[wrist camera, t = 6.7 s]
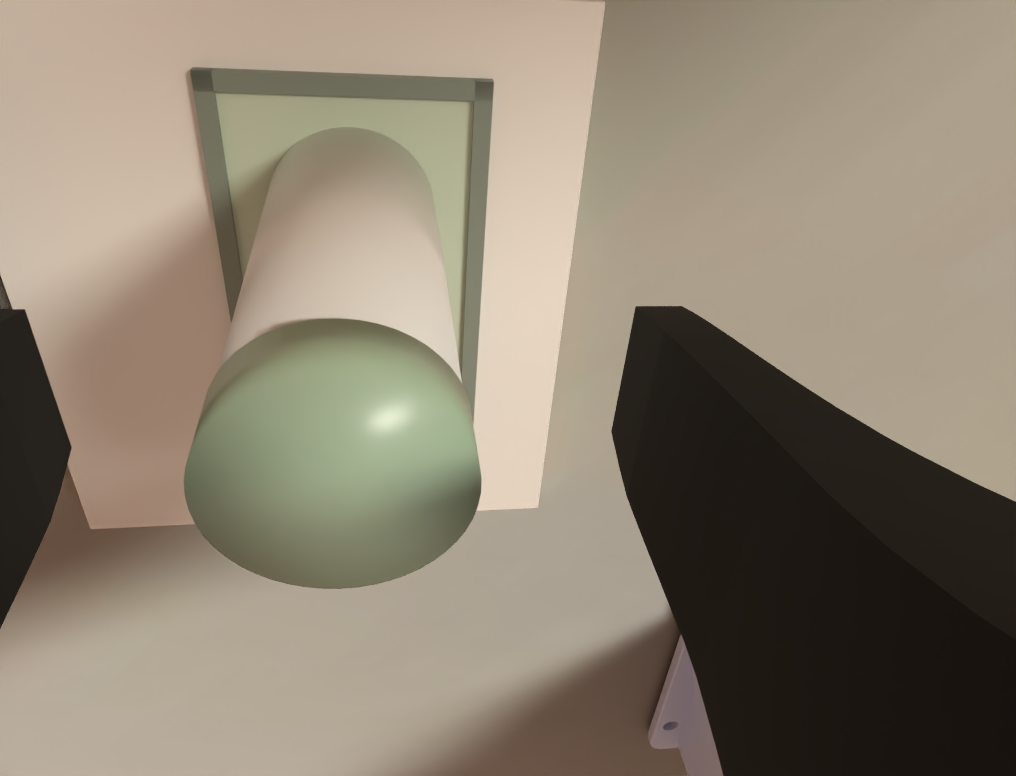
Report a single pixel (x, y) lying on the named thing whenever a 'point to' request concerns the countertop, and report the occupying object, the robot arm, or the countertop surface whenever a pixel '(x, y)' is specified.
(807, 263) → the countertop surface
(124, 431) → the board
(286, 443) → the green and white capsule
